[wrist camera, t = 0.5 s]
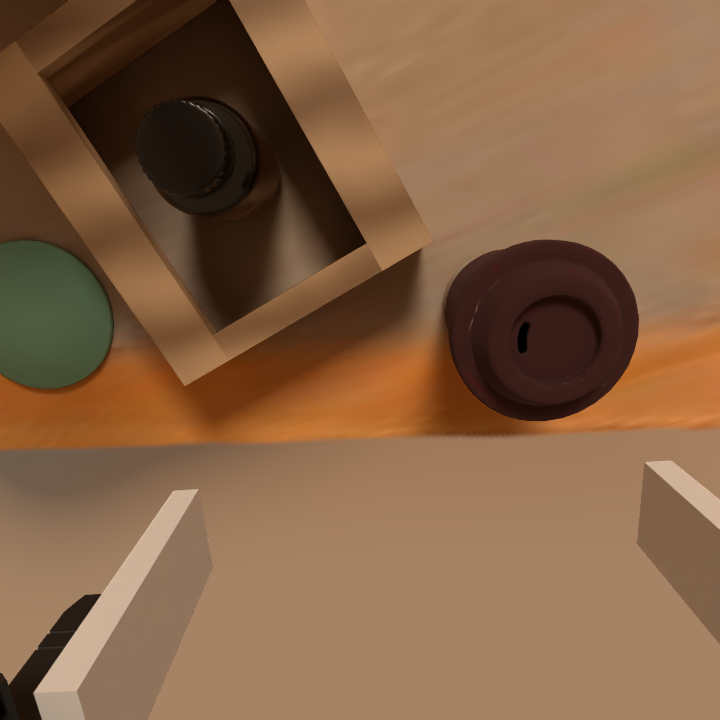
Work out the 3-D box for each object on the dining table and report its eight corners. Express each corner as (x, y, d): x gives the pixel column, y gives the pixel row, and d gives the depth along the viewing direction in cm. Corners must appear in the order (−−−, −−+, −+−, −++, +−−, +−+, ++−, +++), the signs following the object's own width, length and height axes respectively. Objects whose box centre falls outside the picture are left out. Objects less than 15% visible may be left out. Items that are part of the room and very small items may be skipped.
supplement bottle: (255, 237, 39) (206, 242, 28) (176, 189, 38) (91, 173, 27) (298, 155, 38) (266, 125, 26) (217, 103, 37) (146, 48, 25)
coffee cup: (579, 285, 40) (699, 320, 25) (497, 383, 42) (564, 467, 27) (479, 208, 38) (546, 198, 24) (401, 313, 40) (417, 363, 26)
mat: (-66, 289, 41) (-72, 290, 40) (50, 210, 39) (45, 210, 38) (30, 410, 43) (26, 413, 43) (143, 342, 41) (139, 344, 41)
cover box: (41, 103, 37) (-33, 76, 30) (263, -58, 34) (236, -127, 27) (215, 360, 42) (184, 386, 35) (422, 238, 39) (433, 241, 32)
